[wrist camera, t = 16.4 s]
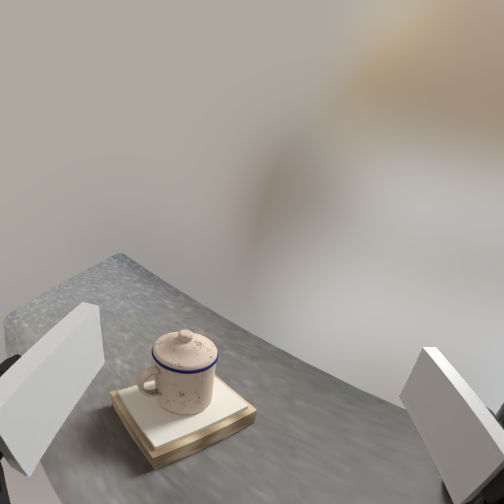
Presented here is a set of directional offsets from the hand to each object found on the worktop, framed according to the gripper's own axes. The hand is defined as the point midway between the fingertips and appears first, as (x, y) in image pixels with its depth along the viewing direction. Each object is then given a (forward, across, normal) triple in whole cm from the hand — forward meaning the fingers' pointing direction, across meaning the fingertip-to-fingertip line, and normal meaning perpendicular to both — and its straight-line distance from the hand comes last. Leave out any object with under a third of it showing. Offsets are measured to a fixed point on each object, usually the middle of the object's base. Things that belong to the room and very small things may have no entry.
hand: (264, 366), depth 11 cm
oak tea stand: (+23, -7, -30) cm, 39 cm away
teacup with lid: (+23, -8, -26) cm, 36 cm away
